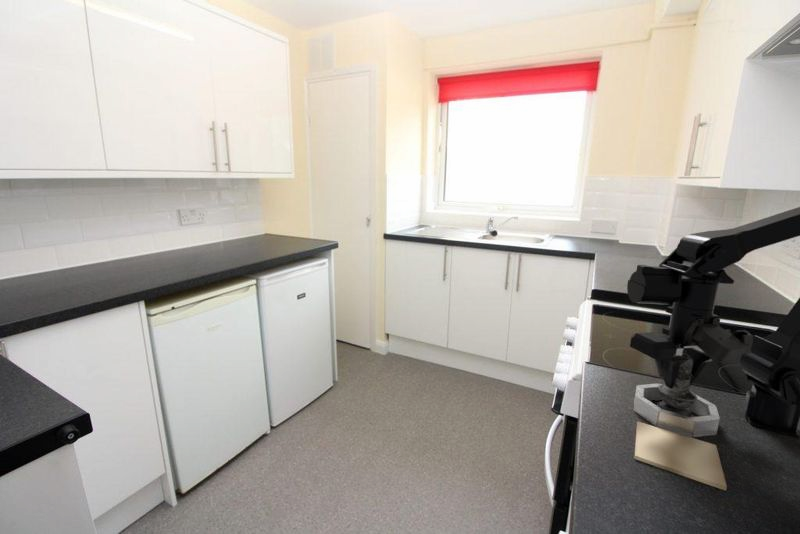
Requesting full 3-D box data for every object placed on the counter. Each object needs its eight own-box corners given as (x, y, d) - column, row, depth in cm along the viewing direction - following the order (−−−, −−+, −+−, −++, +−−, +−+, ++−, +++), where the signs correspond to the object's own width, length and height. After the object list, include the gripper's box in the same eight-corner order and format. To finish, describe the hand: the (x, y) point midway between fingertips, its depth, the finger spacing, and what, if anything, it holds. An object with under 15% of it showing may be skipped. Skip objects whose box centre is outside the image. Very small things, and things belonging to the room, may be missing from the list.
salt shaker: (655, 397, 75) (665, 340, 72) (692, 407, 71) (704, 348, 69) (655, 411, 70) (665, 350, 67) (695, 422, 67) (707, 359, 64)
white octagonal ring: (710, 411, 73) (713, 397, 72) (719, 445, 62) (723, 429, 62) (635, 391, 79) (637, 378, 79) (632, 419, 69) (635, 404, 69)
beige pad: (715, 448, 62) (715, 445, 62) (726, 490, 53) (726, 487, 53) (636, 424, 68) (637, 421, 68) (634, 458, 59) (634, 455, 58)
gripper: (692, 323, 57) (674, 416, 60) (787, 318, 61) (766, 406, 64) (634, 302, 68) (621, 382, 71) (718, 299, 72) (702, 375, 75)
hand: (677, 386), depth 70 cm, fingers closed on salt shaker, 3 cm apart
